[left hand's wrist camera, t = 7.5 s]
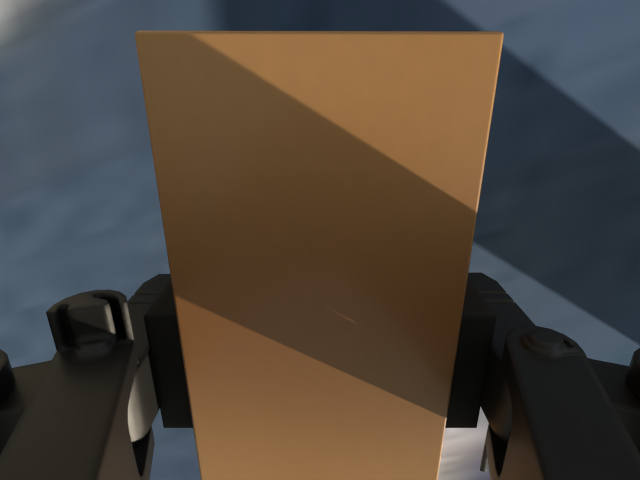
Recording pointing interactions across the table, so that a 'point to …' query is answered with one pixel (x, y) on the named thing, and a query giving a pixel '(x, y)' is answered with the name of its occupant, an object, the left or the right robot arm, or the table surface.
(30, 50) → the table surface
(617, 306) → the table surface
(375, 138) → the bar
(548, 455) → the left robot arm
